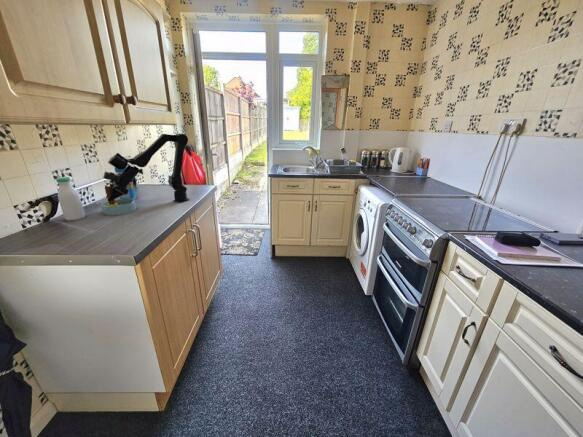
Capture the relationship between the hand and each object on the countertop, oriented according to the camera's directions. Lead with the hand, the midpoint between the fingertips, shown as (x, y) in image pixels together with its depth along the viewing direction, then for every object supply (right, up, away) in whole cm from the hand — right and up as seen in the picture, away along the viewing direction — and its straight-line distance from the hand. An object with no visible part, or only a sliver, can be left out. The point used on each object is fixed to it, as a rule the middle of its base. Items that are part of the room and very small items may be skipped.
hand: (107, 199), depth 126 cm
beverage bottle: (-6, +2, +26) cm, 26 cm away
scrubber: (+1, -6, +3) cm, 7 cm away
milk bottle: (-11, -10, -6) cm, 16 cm away
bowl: (+4, -6, +4) cm, 8 cm away
